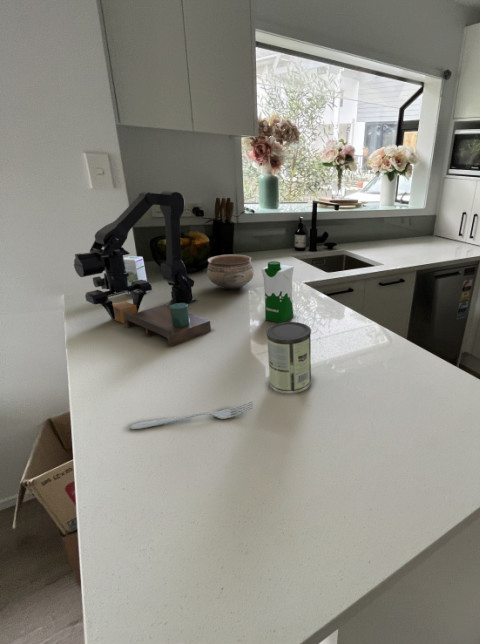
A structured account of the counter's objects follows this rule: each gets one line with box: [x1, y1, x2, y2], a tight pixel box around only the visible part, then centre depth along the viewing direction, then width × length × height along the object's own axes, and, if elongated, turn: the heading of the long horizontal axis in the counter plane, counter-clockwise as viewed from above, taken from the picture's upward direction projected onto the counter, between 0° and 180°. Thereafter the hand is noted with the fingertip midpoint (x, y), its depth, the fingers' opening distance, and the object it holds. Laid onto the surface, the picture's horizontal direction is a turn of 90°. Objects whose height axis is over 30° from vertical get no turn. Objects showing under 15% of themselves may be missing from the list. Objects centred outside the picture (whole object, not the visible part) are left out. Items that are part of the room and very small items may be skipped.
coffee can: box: [265, 321, 312, 395], centre depth 90 cm, size 10×10×14 cm
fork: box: [129, 401, 254, 430], centre depth 78 cm, size 3×24×2 cm, turn 105°
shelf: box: [124, 303, 212, 347], centre depth 119 cm, size 14×24×5 cm, turn 56°
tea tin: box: [169, 303, 190, 327], centre depth 114 cm, size 5×5×6 cm
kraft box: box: [112, 300, 137, 325], centre depth 125 cm, size 5×7×5 cm
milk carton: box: [261, 260, 294, 324], centre depth 126 cm, size 9×9×20 cm
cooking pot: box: [206, 253, 255, 291], centre depth 158 cm, size 25×19×12 cm
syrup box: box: [123, 255, 150, 296], centre depth 148 cm, size 6×6×14 cm
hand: (125, 315), depth 126 cm, fingers open, 7 cm apart
